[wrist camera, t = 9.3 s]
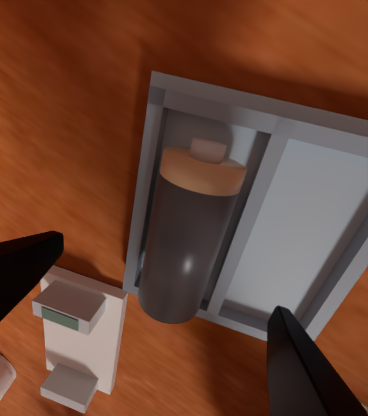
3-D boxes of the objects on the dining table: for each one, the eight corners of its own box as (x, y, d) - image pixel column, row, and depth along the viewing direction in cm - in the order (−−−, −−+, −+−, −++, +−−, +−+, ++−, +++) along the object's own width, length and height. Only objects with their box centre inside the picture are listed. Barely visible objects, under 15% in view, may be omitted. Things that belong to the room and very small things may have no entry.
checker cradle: (114, 385, 26) (96, 423, 23) (53, 360, 27) (28, 393, 24) (128, 291, 20) (107, 325, 17) (48, 263, 21) (13, 290, 18)
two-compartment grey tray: (297, 331, 18) (305, 362, 15) (130, 274, 19) (116, 295, 17) (423, 135, 11) (469, 141, 9) (160, 74, 13) (144, 66, 11)
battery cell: (203, 283, 16) (194, 333, 13) (150, 266, 17) (127, 310, 13) (249, 146, 12) (257, 161, 8) (177, 128, 12) (154, 134, 9)
